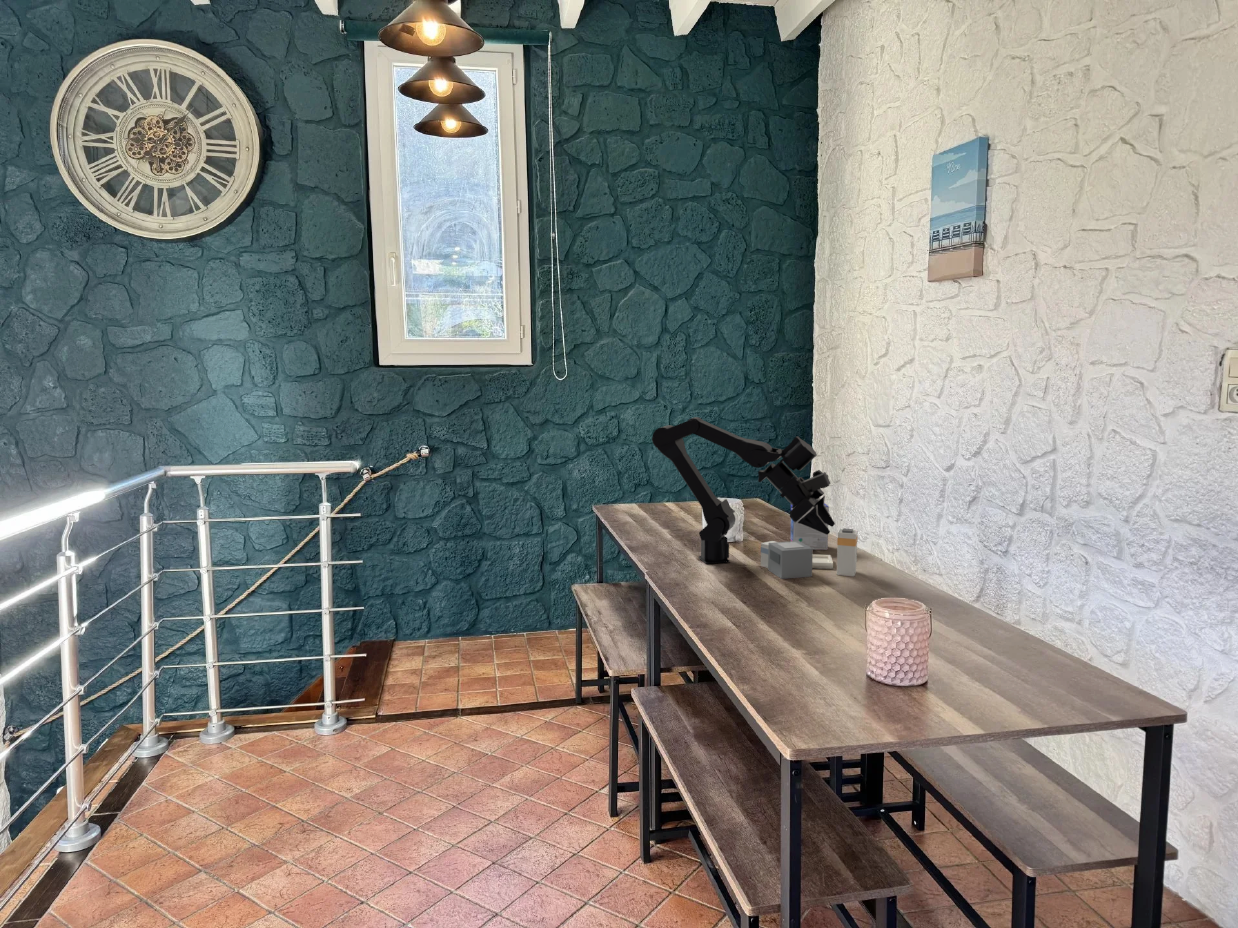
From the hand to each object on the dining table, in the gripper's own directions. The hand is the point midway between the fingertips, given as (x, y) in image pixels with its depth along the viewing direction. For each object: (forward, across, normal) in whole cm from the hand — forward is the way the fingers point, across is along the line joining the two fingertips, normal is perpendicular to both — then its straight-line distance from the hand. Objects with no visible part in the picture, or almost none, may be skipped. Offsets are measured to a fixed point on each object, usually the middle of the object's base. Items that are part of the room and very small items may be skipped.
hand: (831, 529), depth 202 cm
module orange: (+10, 0, +5) cm, 11 cm away
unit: (+1, -5, +14) cm, 15 cm away
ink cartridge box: (+2, +22, +14) cm, 26 cm away
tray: (+4, +6, +11) cm, 13 cm away
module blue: (-3, 0, +18) cm, 18 cm away
